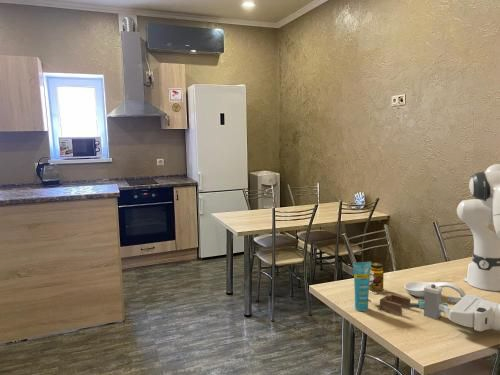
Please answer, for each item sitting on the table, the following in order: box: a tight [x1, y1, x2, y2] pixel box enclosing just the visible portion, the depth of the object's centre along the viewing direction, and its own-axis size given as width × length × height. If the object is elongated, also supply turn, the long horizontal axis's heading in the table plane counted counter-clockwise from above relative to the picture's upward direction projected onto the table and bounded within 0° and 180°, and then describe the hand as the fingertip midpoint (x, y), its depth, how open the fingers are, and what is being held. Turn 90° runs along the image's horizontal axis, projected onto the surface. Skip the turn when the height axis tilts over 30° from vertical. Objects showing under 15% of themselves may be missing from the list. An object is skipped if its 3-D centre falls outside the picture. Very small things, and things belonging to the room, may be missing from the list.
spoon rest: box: [403, 281, 466, 298], centre depth 158 cm, size 24×12×7 cm, turn 56°
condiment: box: [369, 262, 388, 295], centre depth 168 cm, size 7×8×12 cm
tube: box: [352, 260, 372, 312], centre depth 148 cm, size 7×5×19 cm, turn 103°
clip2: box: [417, 299, 424, 310], centre depth 150 cm, size 2×4×2 cm, turn 168°
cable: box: [410, 302, 419, 308], centre depth 147 cm, size 4×22×2 cm, turn 64°
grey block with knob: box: [423, 284, 443, 320], centre depth 141 cm, size 5×5×12 cm
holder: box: [379, 292, 411, 316], centre depth 148 cm, size 9×8×4 cm
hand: (444, 302), depth 139 cm, fingers open, 8 cm apart
